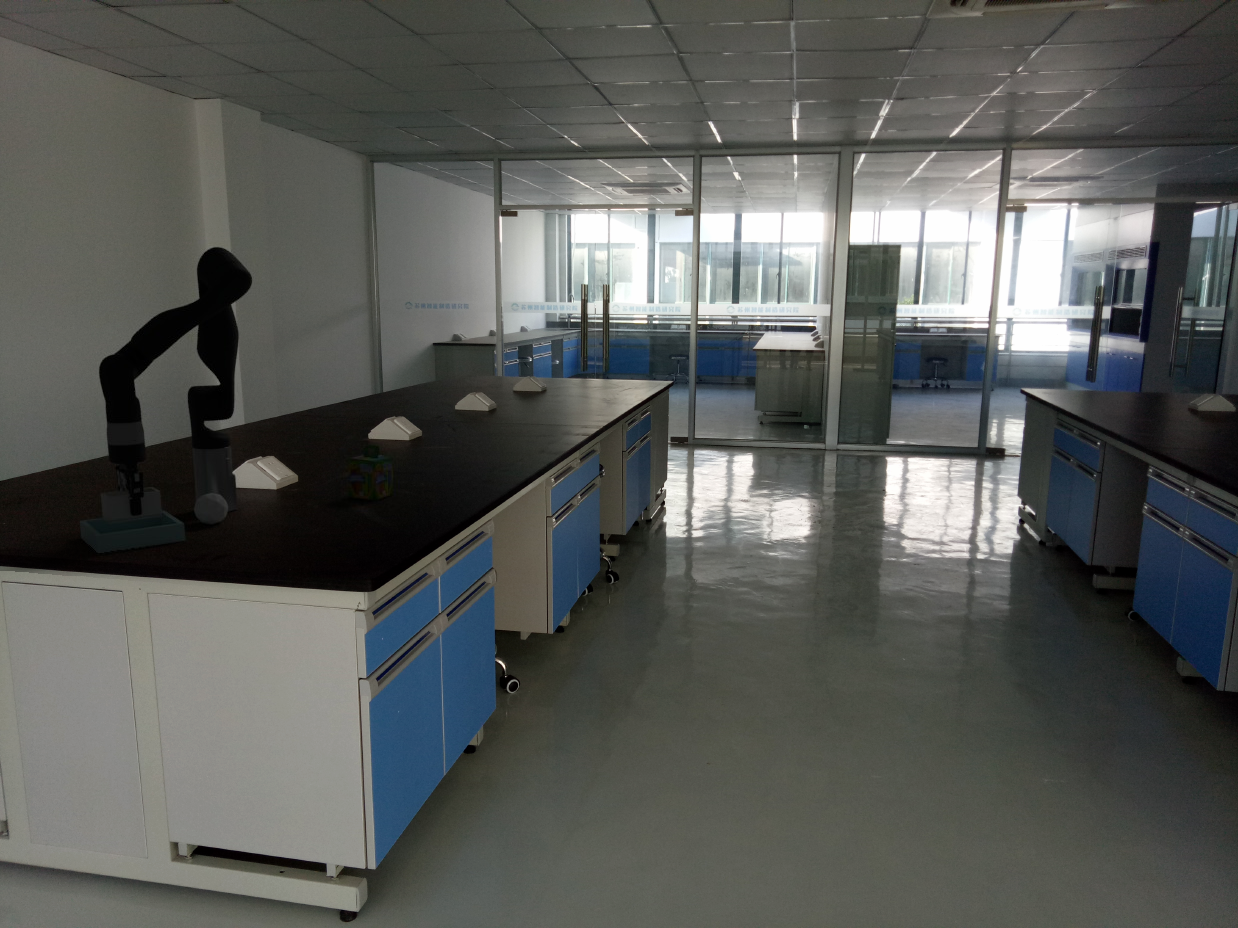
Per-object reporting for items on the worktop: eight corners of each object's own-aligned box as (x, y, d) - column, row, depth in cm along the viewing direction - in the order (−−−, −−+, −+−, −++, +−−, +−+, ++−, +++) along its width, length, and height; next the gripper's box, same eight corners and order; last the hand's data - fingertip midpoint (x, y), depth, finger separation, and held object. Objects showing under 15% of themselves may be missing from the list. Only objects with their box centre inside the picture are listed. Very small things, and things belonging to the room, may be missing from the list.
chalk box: (348, 498, 253) (346, 447, 250) (367, 492, 261) (366, 442, 259) (375, 501, 250) (373, 449, 247) (394, 494, 258) (393, 444, 256)
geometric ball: (203, 533, 223) (185, 507, 223) (233, 518, 228) (215, 492, 228) (206, 525, 217) (188, 498, 217) (236, 509, 222) (218, 483, 222)
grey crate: (154, 511, 212) (152, 487, 211) (162, 516, 208) (160, 491, 207) (103, 518, 205) (100, 493, 204) (109, 523, 201) (107, 497, 200)
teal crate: (164, 527, 220) (163, 509, 219) (185, 542, 207) (184, 523, 207) (81, 539, 208) (79, 520, 207) (98, 555, 196) (96, 535, 195)
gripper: (153, 443, 201) (159, 515, 204) (135, 436, 211) (141, 504, 214) (115, 446, 196) (122, 520, 199) (100, 438, 206) (106, 509, 209)
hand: (132, 512), depth 206 cm, fingers closed on grey crate, 6 cm apart
